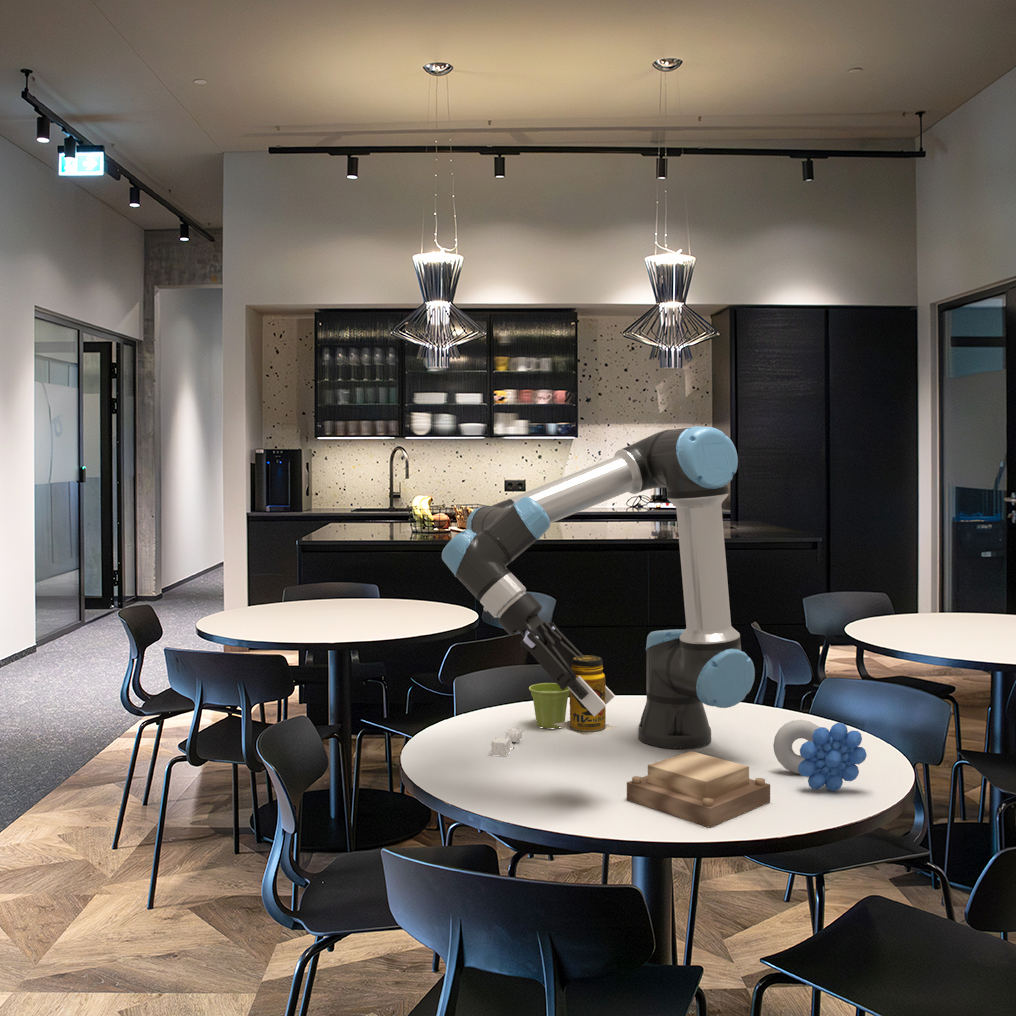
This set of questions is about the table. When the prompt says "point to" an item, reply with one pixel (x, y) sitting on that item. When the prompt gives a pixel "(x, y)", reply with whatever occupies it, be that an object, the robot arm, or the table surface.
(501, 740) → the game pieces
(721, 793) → the wooden riser
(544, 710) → the plant pot
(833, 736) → the blue sphere flower
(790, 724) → the donut
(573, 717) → the condiment
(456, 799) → the table surface
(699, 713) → the robot arm
